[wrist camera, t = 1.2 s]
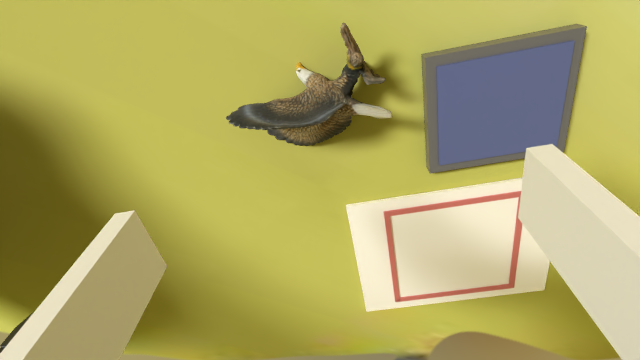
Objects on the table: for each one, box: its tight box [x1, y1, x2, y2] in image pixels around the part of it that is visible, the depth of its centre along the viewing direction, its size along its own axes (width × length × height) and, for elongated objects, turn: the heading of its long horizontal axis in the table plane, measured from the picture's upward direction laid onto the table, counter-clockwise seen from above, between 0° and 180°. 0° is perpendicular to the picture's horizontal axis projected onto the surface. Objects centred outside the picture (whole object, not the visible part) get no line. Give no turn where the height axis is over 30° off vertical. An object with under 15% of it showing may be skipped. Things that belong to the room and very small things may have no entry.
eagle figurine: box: [226, 23, 392, 146], centre depth 24 cm, size 8×7×9 cm
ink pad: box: [422, 24, 587, 173], centre depth 26 cm, size 10×9×1 cm
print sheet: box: [346, 178, 550, 311], centre depth 34 cm, size 18×14×1 cm
